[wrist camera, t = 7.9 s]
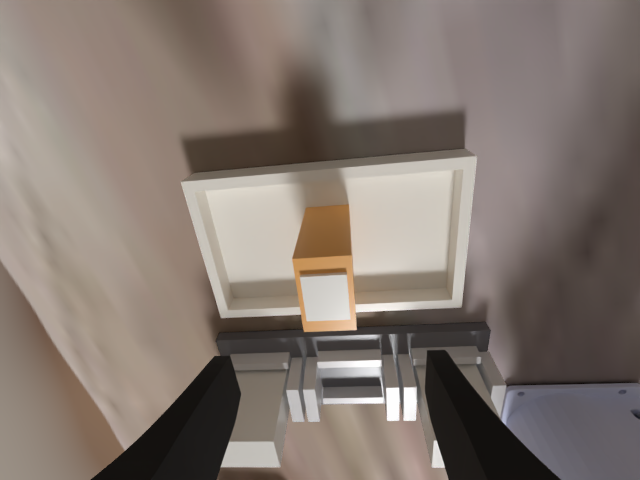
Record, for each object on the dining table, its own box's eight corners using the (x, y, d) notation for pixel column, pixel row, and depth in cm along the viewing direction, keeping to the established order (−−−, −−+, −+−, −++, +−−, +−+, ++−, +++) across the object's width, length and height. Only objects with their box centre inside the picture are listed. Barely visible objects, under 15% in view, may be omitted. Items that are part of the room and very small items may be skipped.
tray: (465, 148, 18) (477, 156, 16) (452, 290, 22) (461, 307, 20) (193, 172, 19) (180, 181, 18) (229, 301, 23) (221, 318, 22)
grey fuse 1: (288, 361, 25) (273, 441, 19) (293, 385, 26) (280, 467, 20) (235, 362, 25) (207, 441, 20) (242, 386, 26) (217, 467, 21)
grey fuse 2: (471, 355, 23) (510, 440, 18) (468, 381, 24) (503, 467, 19) (413, 357, 24) (433, 440, 18) (412, 382, 25) (431, 467, 19)
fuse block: (487, 322, 23) (511, 362, 20) (477, 392, 26) (496, 437, 23) (218, 332, 25) (199, 371, 22) (238, 397, 28) (224, 439, 25)
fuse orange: (353, 264, 21) (357, 332, 15) (313, 266, 21) (303, 334, 16) (349, 204, 19) (351, 257, 14) (305, 207, 19) (291, 261, 14)
